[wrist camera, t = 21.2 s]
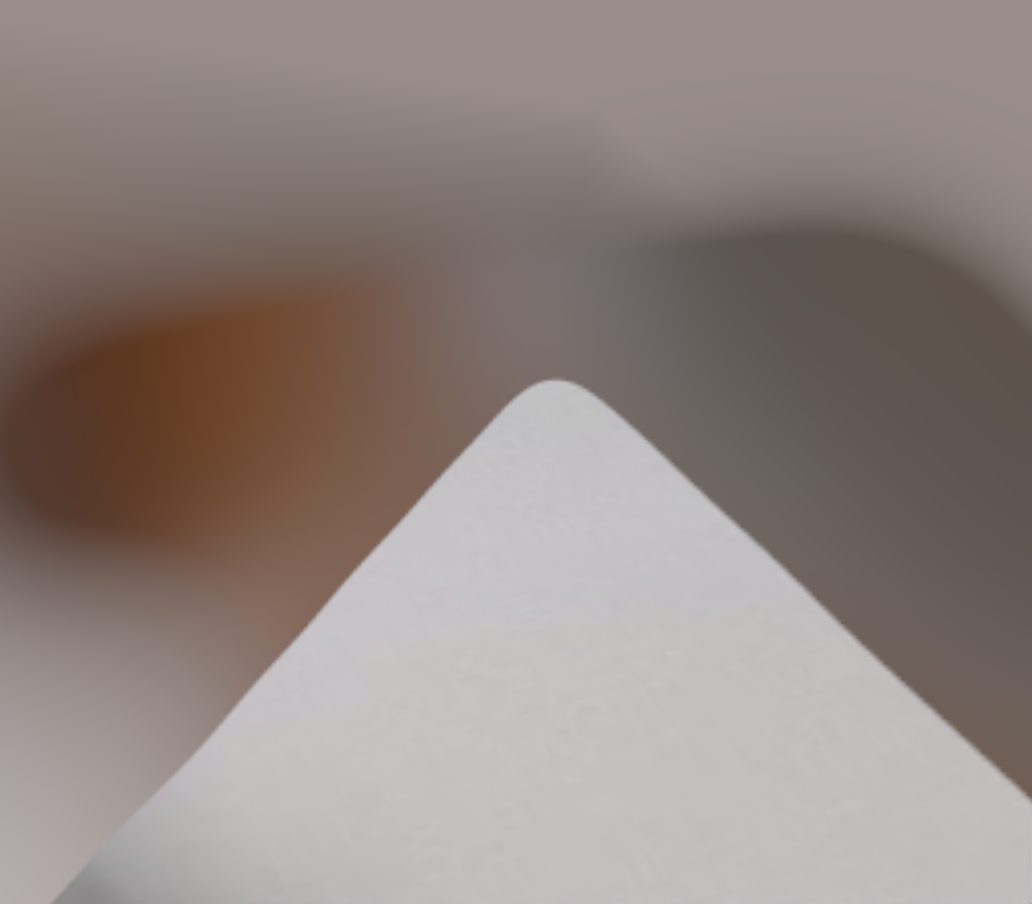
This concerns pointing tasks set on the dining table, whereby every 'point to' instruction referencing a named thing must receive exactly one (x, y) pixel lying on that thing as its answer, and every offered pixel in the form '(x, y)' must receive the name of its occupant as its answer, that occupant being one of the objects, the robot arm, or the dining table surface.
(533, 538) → the dining table surface
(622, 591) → the dining table surface
